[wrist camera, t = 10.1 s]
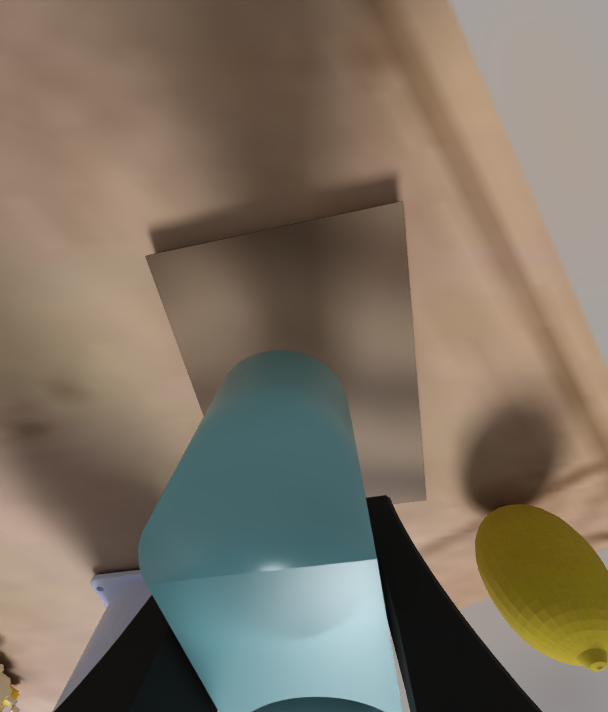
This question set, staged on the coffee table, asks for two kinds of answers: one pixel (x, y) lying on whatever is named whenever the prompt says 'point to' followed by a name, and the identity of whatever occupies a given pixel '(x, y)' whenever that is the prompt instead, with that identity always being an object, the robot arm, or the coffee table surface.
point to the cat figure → (7, 692)
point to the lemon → (546, 583)
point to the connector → (274, 548)
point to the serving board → (311, 323)
